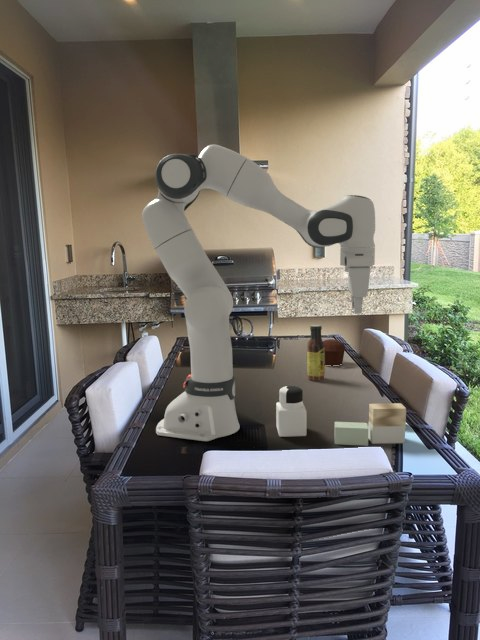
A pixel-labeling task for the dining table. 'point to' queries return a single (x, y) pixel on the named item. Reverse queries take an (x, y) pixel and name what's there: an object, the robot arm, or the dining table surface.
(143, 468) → the dining table surface
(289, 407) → the medicine bottle
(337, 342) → the muffin
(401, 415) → the maple block
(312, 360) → the sauce bottle
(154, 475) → the dining table surface
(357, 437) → the sage block
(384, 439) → the grey block
